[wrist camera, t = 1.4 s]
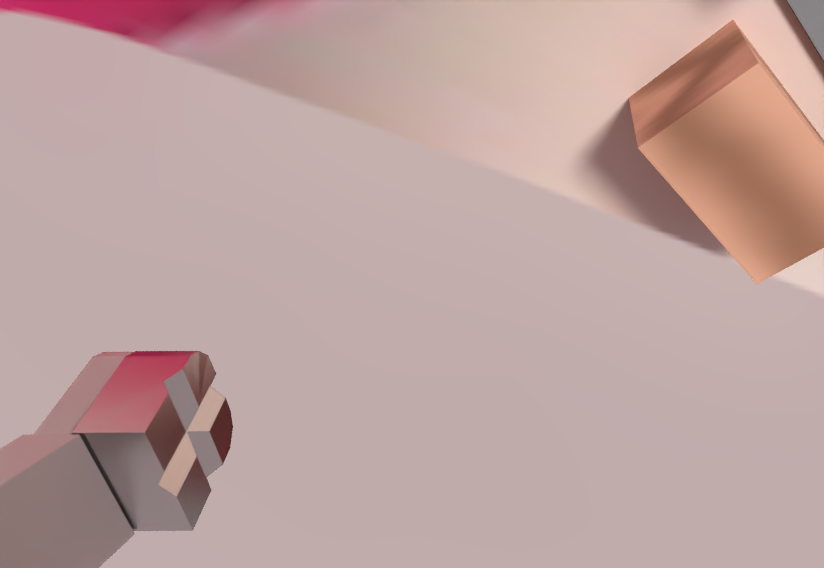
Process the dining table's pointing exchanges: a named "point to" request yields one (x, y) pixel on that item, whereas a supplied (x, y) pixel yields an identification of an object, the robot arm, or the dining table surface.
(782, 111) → the terracotta block
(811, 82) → the dining table surface
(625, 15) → the dining table surface
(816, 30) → the build mat
